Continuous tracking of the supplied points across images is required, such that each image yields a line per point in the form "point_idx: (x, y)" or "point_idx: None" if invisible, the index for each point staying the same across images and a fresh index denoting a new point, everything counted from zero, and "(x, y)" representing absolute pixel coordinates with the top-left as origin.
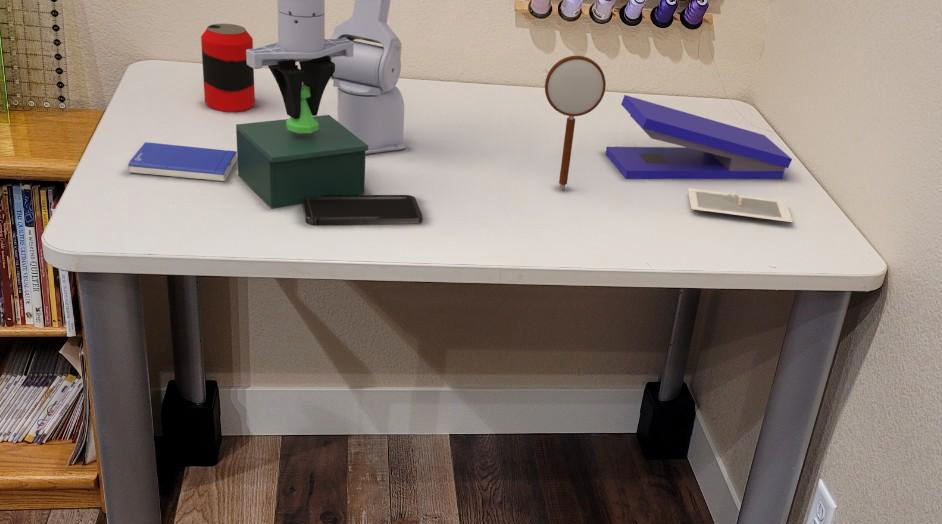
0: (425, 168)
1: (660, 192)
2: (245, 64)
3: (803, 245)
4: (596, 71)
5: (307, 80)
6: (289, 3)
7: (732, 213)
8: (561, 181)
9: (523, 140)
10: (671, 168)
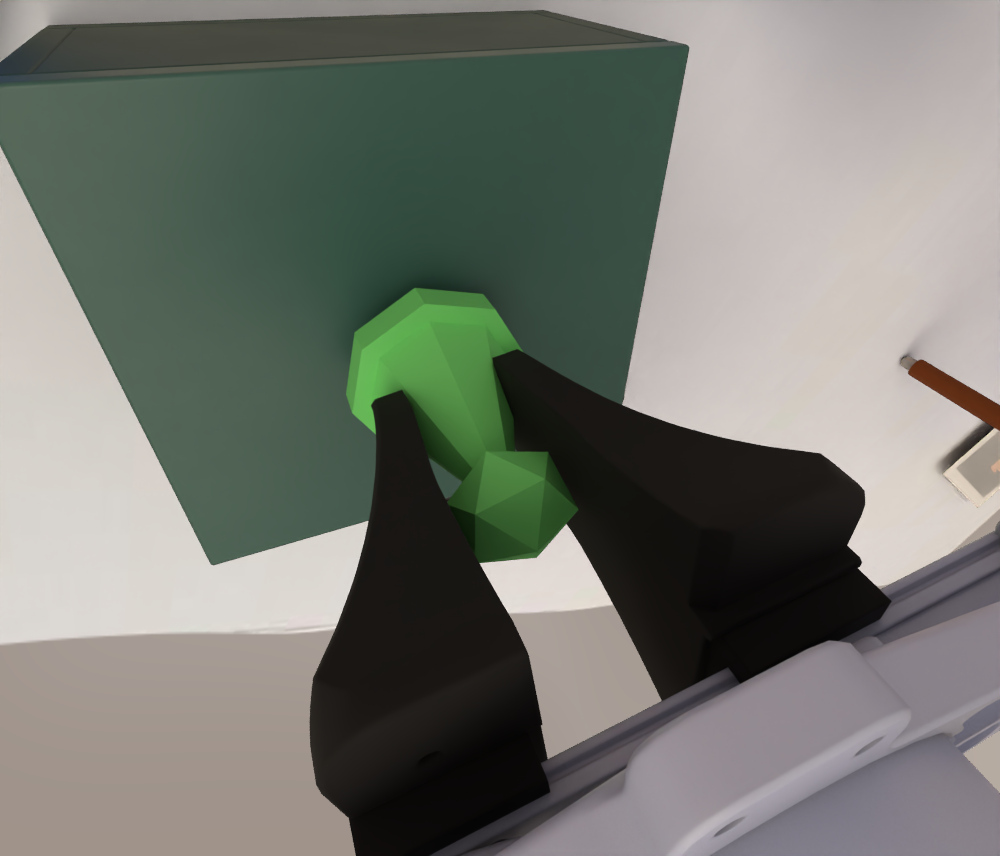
0: (794, 167)
1: (994, 386)
2: None
3: (929, 535)
4: None
5: (602, 509)
6: None
7: (960, 487)
8: (914, 375)
9: None
10: None
